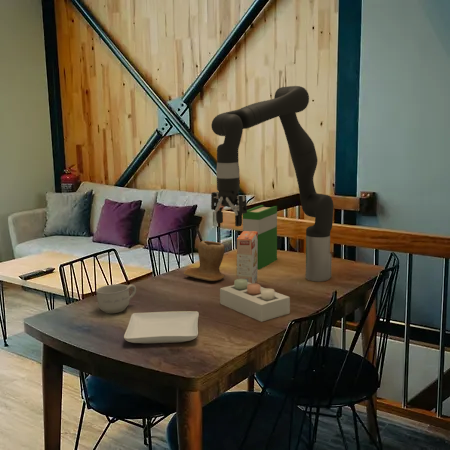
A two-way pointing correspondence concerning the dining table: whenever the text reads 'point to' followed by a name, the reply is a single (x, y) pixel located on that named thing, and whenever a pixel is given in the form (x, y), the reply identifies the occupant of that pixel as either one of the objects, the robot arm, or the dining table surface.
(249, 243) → the cracker box
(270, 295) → the ivory button
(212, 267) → the brown boot
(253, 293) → the terracotta button
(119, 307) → the teacup
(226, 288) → the console
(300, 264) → the dining table surface
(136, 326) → the salad plate
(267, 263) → the hardback book
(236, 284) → the sage button
